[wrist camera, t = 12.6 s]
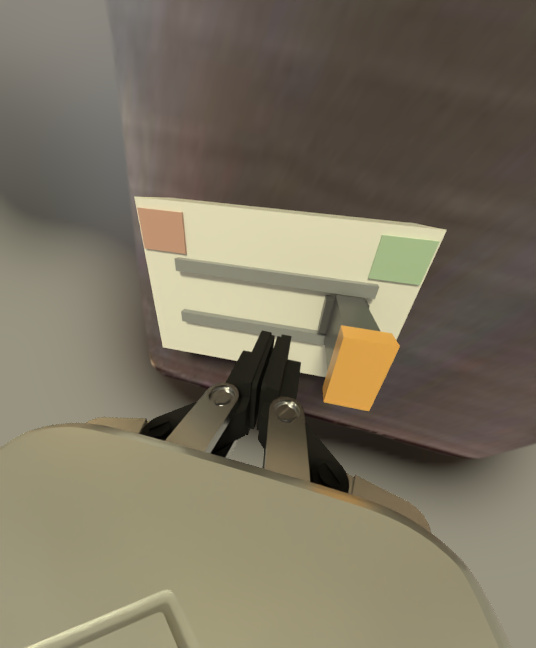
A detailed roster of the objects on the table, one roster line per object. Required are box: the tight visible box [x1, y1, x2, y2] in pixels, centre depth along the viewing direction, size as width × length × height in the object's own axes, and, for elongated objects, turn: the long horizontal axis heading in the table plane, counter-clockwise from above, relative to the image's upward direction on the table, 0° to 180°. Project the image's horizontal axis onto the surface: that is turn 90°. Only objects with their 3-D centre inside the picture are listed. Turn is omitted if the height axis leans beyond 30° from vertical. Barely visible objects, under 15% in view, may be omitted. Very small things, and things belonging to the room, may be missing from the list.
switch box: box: [135, 197, 446, 377], centre depth 21 cm, size 22×14×6 cm, turn 85°
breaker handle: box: [318, 295, 400, 411], centre depth 15 cm, size 3×5×8 cm
